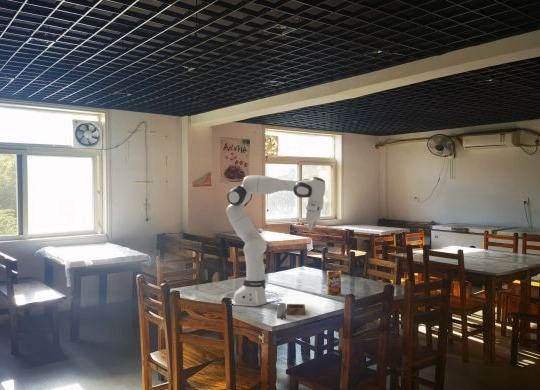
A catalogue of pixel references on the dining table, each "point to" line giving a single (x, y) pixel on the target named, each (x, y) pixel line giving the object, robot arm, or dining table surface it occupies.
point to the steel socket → (281, 310)
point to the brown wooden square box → (295, 309)
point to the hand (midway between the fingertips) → (311, 228)
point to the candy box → (333, 282)
